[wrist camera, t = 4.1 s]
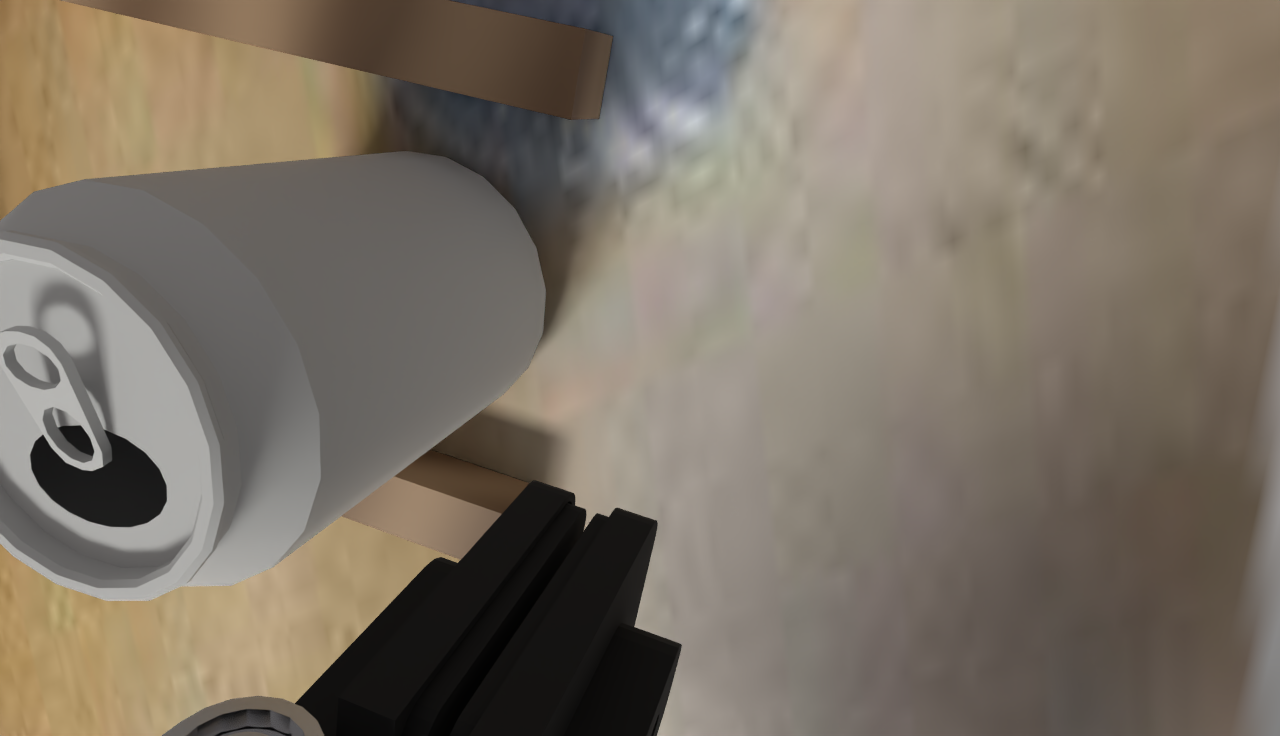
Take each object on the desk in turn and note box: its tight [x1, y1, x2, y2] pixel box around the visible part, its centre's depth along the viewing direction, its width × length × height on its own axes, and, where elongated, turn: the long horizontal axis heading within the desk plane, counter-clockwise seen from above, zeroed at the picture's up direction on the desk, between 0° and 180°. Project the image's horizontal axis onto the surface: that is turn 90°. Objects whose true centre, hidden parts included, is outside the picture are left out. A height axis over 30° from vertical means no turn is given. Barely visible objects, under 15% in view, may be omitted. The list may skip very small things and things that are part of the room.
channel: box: [61, 0, 613, 560], centre depth 23 cm, size 24×15×4 cm, turn 79°
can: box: [0, 151, 546, 601], centre depth 18 cm, size 8×8×12 cm
